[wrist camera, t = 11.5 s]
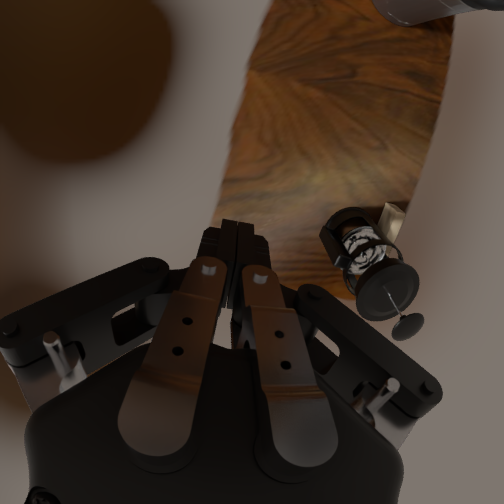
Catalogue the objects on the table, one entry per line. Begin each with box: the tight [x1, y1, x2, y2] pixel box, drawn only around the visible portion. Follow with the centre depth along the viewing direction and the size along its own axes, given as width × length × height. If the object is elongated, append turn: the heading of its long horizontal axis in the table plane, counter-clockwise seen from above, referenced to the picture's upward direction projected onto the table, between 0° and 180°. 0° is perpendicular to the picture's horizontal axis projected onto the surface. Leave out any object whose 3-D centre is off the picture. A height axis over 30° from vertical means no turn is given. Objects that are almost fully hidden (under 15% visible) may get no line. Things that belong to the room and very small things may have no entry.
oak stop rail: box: [360, 202, 406, 275], centre depth 44 cm, size 14×2×4 cm, turn 169°
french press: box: [319, 207, 424, 341], centre depth 35 cm, size 12×9×23 cm
